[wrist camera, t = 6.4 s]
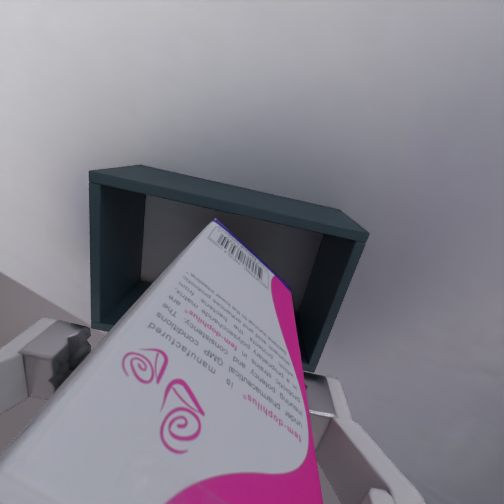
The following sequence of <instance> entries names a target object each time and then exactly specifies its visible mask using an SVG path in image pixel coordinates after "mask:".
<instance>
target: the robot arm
mask: <svg viewBox="0 0 504 504" xmlns="http://www.w3.org/2000/svg"><path fill="white" fill-rule="evenodd" d="M90 336H91V334H90V328H88V327H86V326H82V325H77V324H74V323H69V322H65V321H61V320H60V321H59V320H55V319H51V318H47V317H45V318H42V319H40V320H38V321H37V322H36V323H34V324H33V325H32V326H30V327H29V328H28V329H26V330H25V331H24V332H22V333H21V334H20V335H18V336H17V337H16V338H14V339H13V340H12V341H10V342H9V343H8V344H6V345H5V346H4V347H2V348H1V349H0V415H1V414H3V413H4V412H6V411H8V410H9V409H11V408H13V407H15V406H16V405H18V404H19V403H21V402H23V401H25V400H26V399H28V397H33V398H39V399H45V400H48V399H49V398H50V397H51V396H52V395H53V394H54V393H55V391H56V390H57V389H58V388H59V387H60V386H61V385H62V383H63V382H64V381H65V380H66V379H67V378H68V377H69V376H70V375H71V373H72V372H73V371H74V370H75V369H76V368H77V367H78V366H79V364H80V363H81V362H82V361H83V360H84V359H85V358H86V357H87V355H88V354H89V353H90V352H91V345H90V344H89V343H88V341H87V339H88V338H89V337H90ZM303 375H304V382H305V388H306V394H307V400H308V407H309V414H310V421H311V427H312V433H313V440H314V446H315V453H316V459H317V461H318V463H319V465H320V466H321V468H322V470H323V472H324V474H325V475H326V477H327V479H328V481H329V482H330V484H331V486H332V488H333V490H334V491H335V493H336V495H337V497H338V499H339V500H340V502H341V504H426V503H425V501H424V498H423V496H422V495H421V494H420V493H419V492H418V491H417V490H416V488H415V487H414V486H413V485H412V484H411V483H410V482H409V480H408V479H407V478H406V477H405V476H404V475H403V474H402V473H401V471H400V470H399V469H398V468H397V467H396V466H395V465H394V463H393V462H392V461H391V460H390V459H389V458H388V457H387V455H386V454H385V453H384V452H383V451H382V450H381V449H380V448H379V446H378V445H377V444H376V443H375V442H374V441H373V440H372V438H371V437H370V436H369V435H368V434H367V433H366V432H365V431H364V429H363V428H362V427H361V426H360V425H359V424H358V423H357V422H353V419H352V416H351V413H350V410H349V407H348V404H347V401H346V398H345V395H344V392H343V389H342V385H341V382H340V380H339V379H337V378H332V377H327V376H322V375H317V374H312V373H307V372H303Z"/></svg>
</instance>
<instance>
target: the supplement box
mask: <svg viewBox="0 0 504 504" xmlns="http://www.w3.org/2000/svg"><path fill="white" fill-rule="evenodd" d="M0 504H323V500H322V495H321V486H320V480H319V472H318V466H317V460H316V453H315V446H314V440H313V433H312V427H311V421H310V414H309V407H308V400H307V394H306V388H305V382H304V375H303V368H302V362H301V354H300V348H299V342H298V336H297V329H296V323H295V317H294V309H293V303H292V296H291V288H290V287H289V286H288V285H287V284H286V283H285V282H284V281H283V280H282V279H281V278H280V277H279V276H278V275H277V274H276V273H275V272H274V271H273V270H272V269H271V268H270V267H269V266H268V265H267V264H266V263H264V262H263V261H262V260H261V259H260V258H259V257H258V256H257V255H256V254H255V253H254V252H252V251H251V250H250V249H249V248H248V247H247V246H246V245H245V244H244V243H243V242H242V241H241V240H239V239H238V238H237V237H236V236H235V235H234V234H233V233H232V232H231V231H230V230H228V229H227V228H226V227H225V226H224V225H223V224H222V223H221V222H220V221H219V220H218V219H216V218H215V219H214V220H212V221H211V222H210V223H209V224H208V225H207V226H206V227H205V228H204V229H203V230H202V231H201V232H200V233H199V234H198V235H197V236H196V237H195V238H194V239H193V241H192V242H191V243H190V244H189V245H188V246H187V247H186V248H185V249H184V250H183V251H182V252H181V253H180V254H179V255H178V256H177V257H176V258H175V259H174V260H173V262H172V263H171V264H170V265H169V266H168V267H167V268H166V269H165V270H164V271H163V272H162V273H161V275H160V276H159V277H158V278H157V279H156V280H155V281H154V282H153V283H152V285H151V286H150V287H149V288H148V289H147V290H146V291H145V292H144V293H143V294H142V295H141V297H140V298H139V299H138V300H137V301H136V302H135V303H134V304H133V305H132V306H131V308H130V309H129V310H128V311H127V312H126V313H125V314H124V315H123V316H122V318H121V319H120V320H119V321H118V322H117V323H116V324H115V325H114V326H113V328H112V329H111V330H110V331H109V332H108V333H107V334H106V335H105V336H104V338H103V339H102V340H101V341H100V342H99V343H98V344H97V346H96V347H95V348H94V349H93V350H92V351H91V352H90V353H89V354H88V355H87V357H86V358H85V359H84V360H83V361H82V362H81V363H80V364H79V366H78V367H77V368H76V369H75V370H74V371H73V372H72V373H71V375H70V376H69V377H68V378H67V379H66V380H65V381H64V382H63V383H62V385H61V386H60V387H59V388H58V389H57V390H56V391H55V393H54V394H53V395H52V396H51V397H50V398H49V399H48V400H47V402H46V403H45V404H44V405H43V406H42V407H41V408H40V410H39V411H38V412H37V413H36V414H35V415H34V416H33V417H32V419H31V420H30V421H29V422H28V423H27V424H26V426H25V427H24V428H23V429H22V430H21V431H20V432H19V433H18V434H17V436H16V437H15V438H14V439H13V440H12V441H11V442H10V443H9V445H8V446H7V447H6V448H5V449H4V450H3V452H2V453H1V454H0Z"/></svg>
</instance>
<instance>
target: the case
mask: <svg viewBox="0 0 504 504" xmlns="http://www.w3.org/2000/svg"><path fill="white" fill-rule="evenodd" d="M89 182H90V183H89V211H90V277H91V328H92V329H97V330H102V331H107V332H109V331H110V330H111V329H112V328H113V326H114V325H115V324H116V323H117V322H118V321H119V320H120V319H121V318H122V316H123V315H124V314H125V313H126V312H127V311H128V310H129V309H130V308H131V306H132V305H133V304H134V303H135V302H136V301H137V300H138V299H139V298H140V297H141V295H142V294H143V293H144V292H145V291H146V290H147V289H148V288H149V287H150V286H151V285H152V283H148V282H144V281H140V273H141V257H142V241H143V225H144V210H145V194H147V195H151V196H156V197H160V198H165V199H169V200H174V201H178V202H183V203H187V204H192V205H196V206H201V207H205V208H210V209H215V210H219V211H224V212H228V213H233V214H237V215H242V216H246V217H251V218H255V219H260V220H264V221H269V222H273V223H278V224H283V225H287V226H292V227H296V228H301V229H305V230H310V231H314V232H319V233H323V234H324V236H323V239H322V242H321V245H320V248H319V251H318V254H317V257H316V260H315V263H314V266H313V269H312V272H311V275H310V278H309V281H308V284H307V287H306V290H305V293H304V296H303V299H302V302H301V305H300V308H299V311H298V313H294V317H295V323H296V329H297V336H298V342H299V348H300V354H301V362H302V368H303V371H308V372H313V373H314V372H315V369H316V366H317V364H318V362H319V359H320V357H321V354H322V352H323V349H324V347H325V344H326V342H327V339H328V337H329V334H330V332H331V329H332V327H333V324H334V322H335V319H336V317H337V314H338V312H339V309H340V307H341V304H342V302H343V299H344V297H345V294H346V292H347V289H348V287H349V284H350V281H351V279H352V276H353V274H354V271H355V269H356V266H357V264H358V261H359V259H360V256H361V254H362V251H363V249H364V246H365V243H366V241H367V239H368V236H369V232H367V231H366V230H365V229H364V228H362V227H361V226H360V225H359V224H357V223H356V222H355V221H353V220H352V219H351V218H350V217H348V216H347V215H346V214H344V213H343V212H342V211H341V210H339V209H334V208H330V207H325V206H321V205H317V204H312V203H308V202H303V201H299V200H294V199H290V198H285V197H281V196H277V195H272V194H268V193H263V192H259V191H254V190H250V189H245V188H241V187H237V186H232V185H228V184H223V183H219V182H214V181H210V180H205V179H201V178H196V177H192V176H188V175H183V174H179V173H174V172H170V171H165V170H161V169H156V168H152V167H148V166H143V165H134V166H126V167H117V168H108V169H100V170H91V171H89Z"/></svg>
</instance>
